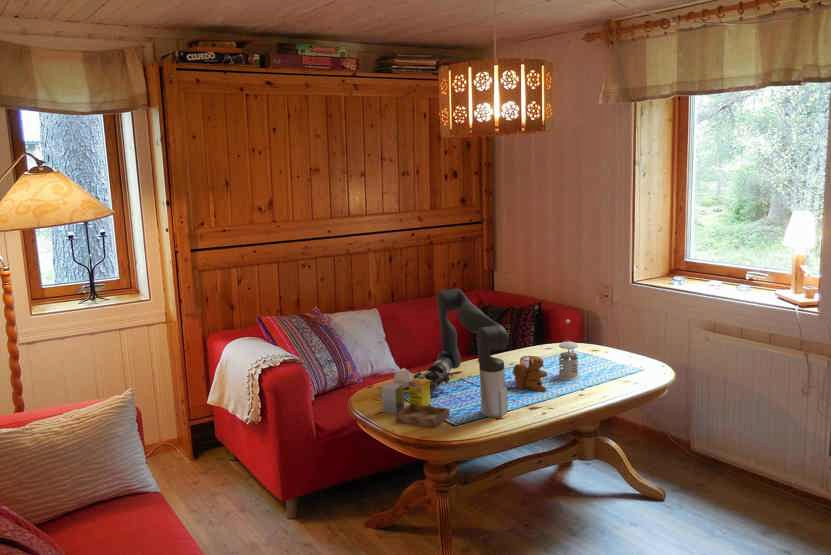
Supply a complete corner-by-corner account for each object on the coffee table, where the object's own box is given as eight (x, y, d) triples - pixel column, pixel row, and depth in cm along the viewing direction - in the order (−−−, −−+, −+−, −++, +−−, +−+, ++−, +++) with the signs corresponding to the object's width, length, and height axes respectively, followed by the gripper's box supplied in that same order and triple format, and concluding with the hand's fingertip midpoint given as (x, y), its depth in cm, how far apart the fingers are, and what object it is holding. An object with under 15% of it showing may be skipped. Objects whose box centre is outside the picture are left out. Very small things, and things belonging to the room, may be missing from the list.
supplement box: (409, 408, 274) (408, 381, 272) (418, 403, 279) (416, 377, 277) (422, 410, 271) (420, 383, 269) (430, 406, 276) (429, 379, 274)
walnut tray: (449, 416, 263) (449, 408, 263) (435, 427, 253) (434, 419, 253) (412, 411, 271) (411, 403, 270) (396, 422, 261) (396, 414, 260)
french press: (555, 379, 299) (554, 321, 295) (559, 371, 310) (558, 315, 306) (578, 380, 296) (578, 322, 292) (582, 372, 307) (581, 316, 302)
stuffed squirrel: (547, 391, 284) (547, 360, 282) (512, 391, 287) (511, 360, 285) (547, 383, 294) (546, 353, 292) (513, 383, 297) (512, 353, 294)
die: (416, 390, 297) (418, 369, 301) (400, 385, 292) (402, 363, 296) (403, 393, 302) (405, 372, 307) (388, 388, 297) (390, 366, 302)
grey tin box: (404, 409, 274) (402, 384, 272) (396, 414, 269) (395, 389, 267) (390, 407, 277) (389, 382, 275) (383, 412, 271) (381, 387, 270)
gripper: (422, 361, 300) (410, 373, 285) (454, 362, 296) (443, 374, 280) (423, 378, 301) (411, 390, 286) (455, 380, 297) (444, 392, 282)
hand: (427, 382), depth 283 cm, fingers open, 8 cm apart
